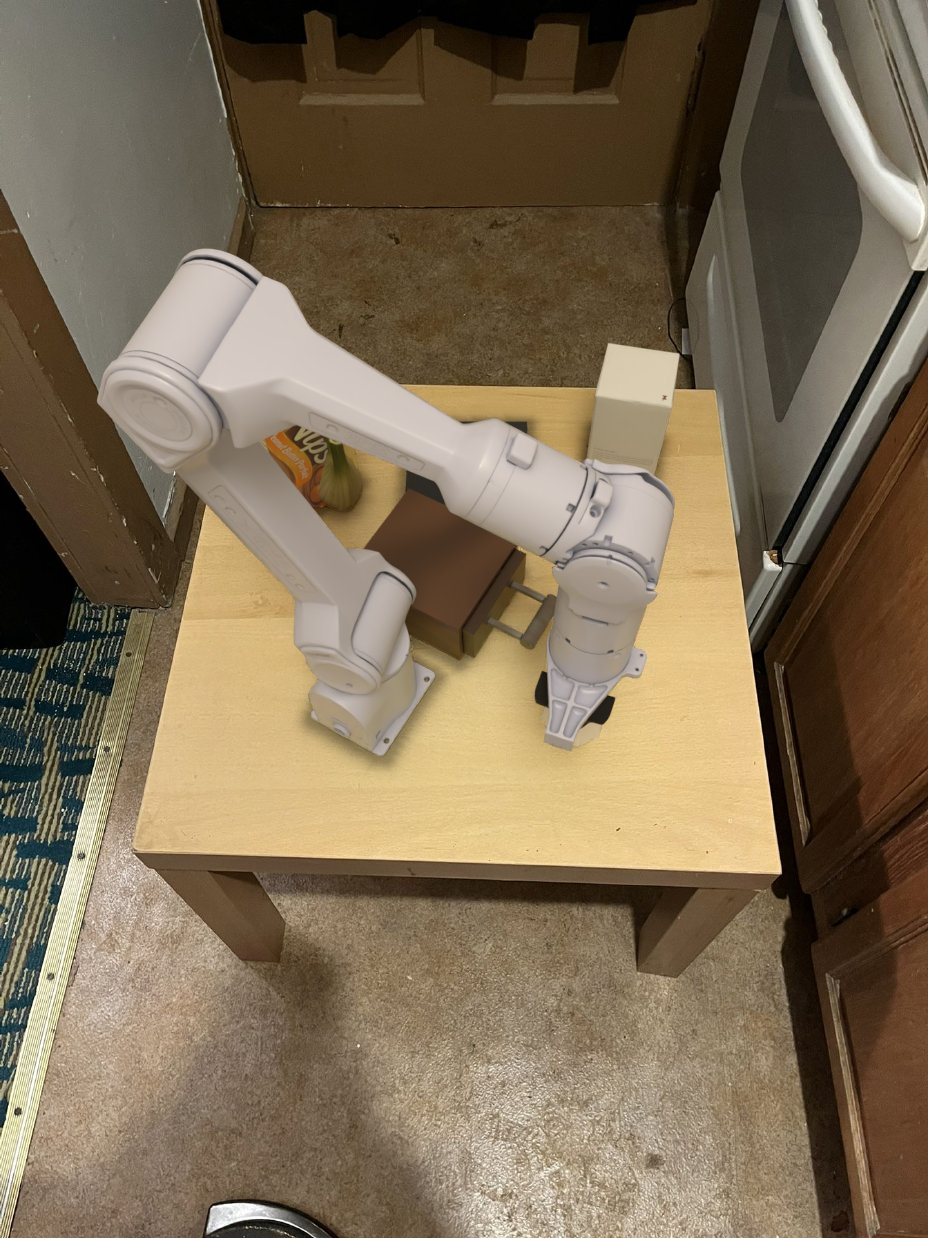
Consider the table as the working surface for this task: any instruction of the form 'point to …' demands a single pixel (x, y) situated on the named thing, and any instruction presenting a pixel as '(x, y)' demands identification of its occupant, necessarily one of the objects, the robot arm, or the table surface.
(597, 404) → the white packaging box
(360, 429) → the robot arm
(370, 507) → the table surface
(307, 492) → the candy box
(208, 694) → the table surface
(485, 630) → the drawer
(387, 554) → the cabinet
